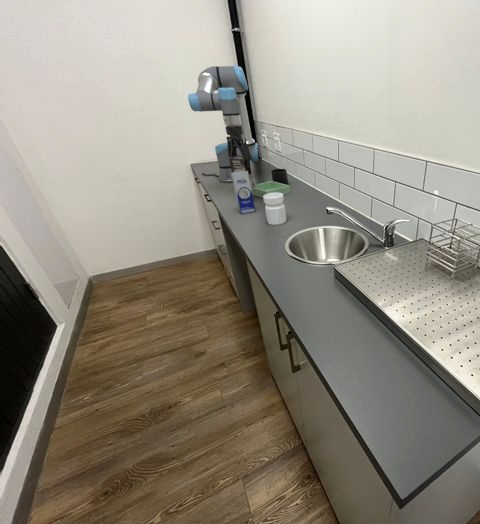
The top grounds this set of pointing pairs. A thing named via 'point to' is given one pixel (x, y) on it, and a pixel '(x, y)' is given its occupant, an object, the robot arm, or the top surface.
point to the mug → (280, 176)
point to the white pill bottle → (275, 208)
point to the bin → (270, 188)
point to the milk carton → (243, 191)
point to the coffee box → (242, 168)
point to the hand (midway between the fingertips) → (242, 172)
